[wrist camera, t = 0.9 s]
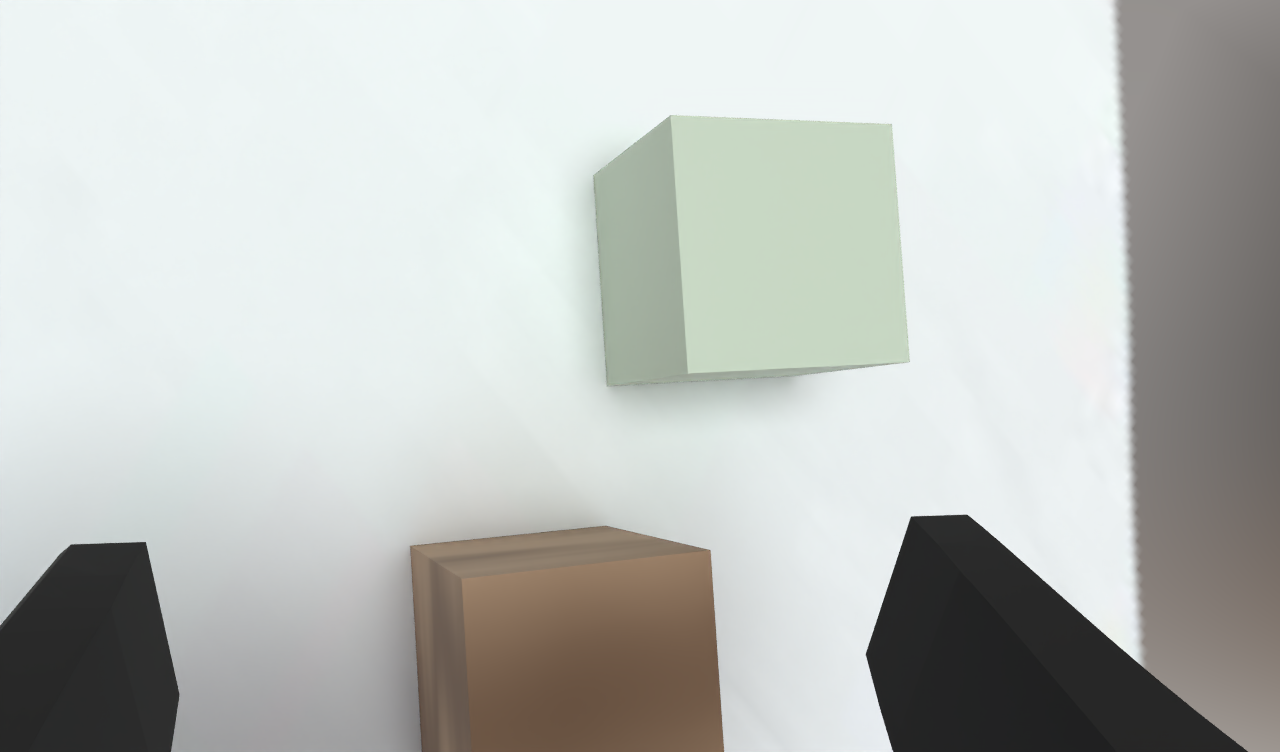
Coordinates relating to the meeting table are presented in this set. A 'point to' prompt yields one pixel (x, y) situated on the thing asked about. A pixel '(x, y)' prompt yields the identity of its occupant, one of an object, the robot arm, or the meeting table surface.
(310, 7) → the meeting table surface
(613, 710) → the walnut block
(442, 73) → the meeting table surface
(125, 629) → the robot arm
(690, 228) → the green cube
